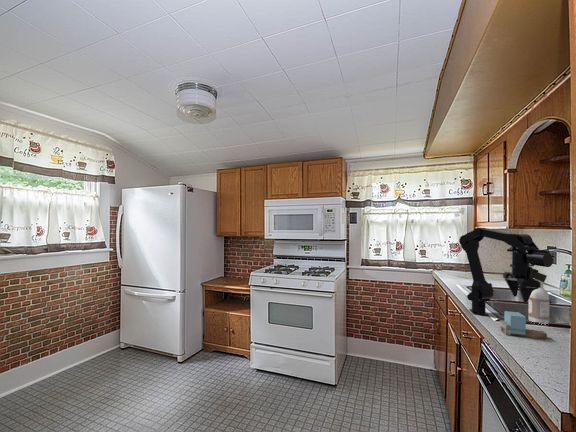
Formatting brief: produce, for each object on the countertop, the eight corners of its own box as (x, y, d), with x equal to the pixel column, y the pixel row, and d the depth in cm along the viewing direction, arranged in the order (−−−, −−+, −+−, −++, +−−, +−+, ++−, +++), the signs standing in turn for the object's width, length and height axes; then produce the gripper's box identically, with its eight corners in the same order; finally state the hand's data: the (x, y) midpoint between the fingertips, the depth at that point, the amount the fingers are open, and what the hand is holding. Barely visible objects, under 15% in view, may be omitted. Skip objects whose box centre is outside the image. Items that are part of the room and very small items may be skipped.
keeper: (510, 333, 110) (510, 315, 110) (504, 327, 116) (504, 311, 116) (525, 334, 109) (525, 317, 109) (518, 329, 114) (518, 312, 114)
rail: (505, 335, 111) (506, 325, 111) (499, 329, 116) (499, 320, 116) (549, 340, 106) (549, 330, 106) (540, 334, 112) (540, 324, 112)
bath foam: (526, 318, 130) (526, 276, 130) (545, 321, 126) (546, 278, 127) (531, 323, 123) (531, 279, 124) (551, 326, 120) (552, 281, 120)
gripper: (557, 268, 107) (556, 308, 107) (531, 261, 125) (531, 295, 125) (522, 266, 110) (522, 304, 110) (502, 259, 128) (502, 292, 128)
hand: (520, 299), depth 118 cm, fingers open, 9 cm apart
